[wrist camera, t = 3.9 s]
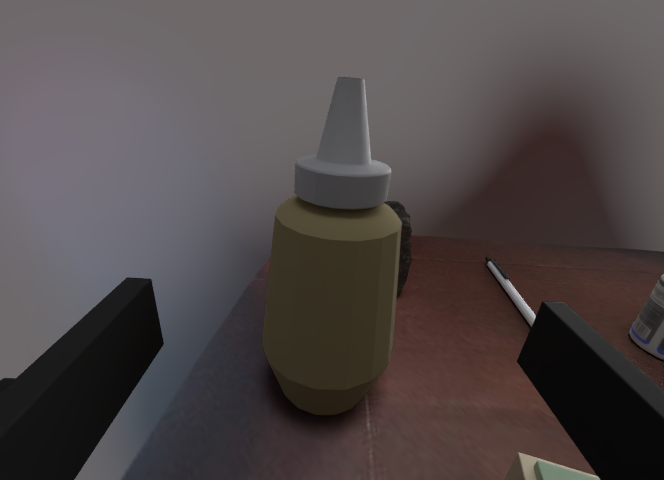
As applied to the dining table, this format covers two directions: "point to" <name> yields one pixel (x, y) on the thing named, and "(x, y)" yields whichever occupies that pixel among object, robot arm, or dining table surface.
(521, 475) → the cushion seat
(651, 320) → the pill bottle
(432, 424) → the dining table surface
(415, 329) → the dining table surface
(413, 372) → the dining table surface
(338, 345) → the squeeze bottle
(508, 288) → the pen
